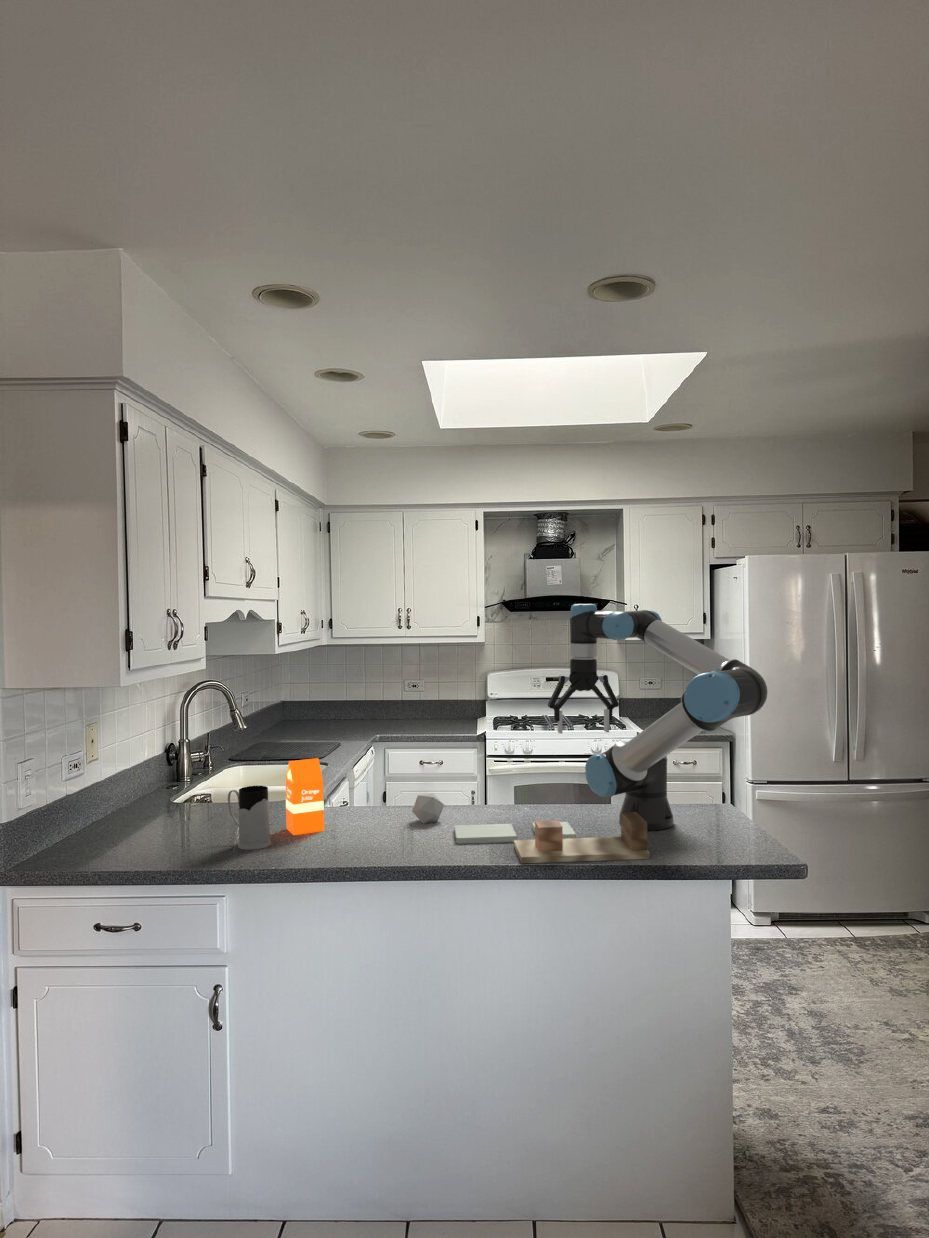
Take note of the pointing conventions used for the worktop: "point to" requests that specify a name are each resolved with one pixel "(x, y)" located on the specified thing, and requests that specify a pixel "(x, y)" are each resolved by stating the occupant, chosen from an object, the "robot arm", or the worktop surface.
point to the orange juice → (304, 797)
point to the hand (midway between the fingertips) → (583, 732)
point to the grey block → (427, 808)
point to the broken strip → (496, 833)
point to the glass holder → (252, 817)
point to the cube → (548, 835)
